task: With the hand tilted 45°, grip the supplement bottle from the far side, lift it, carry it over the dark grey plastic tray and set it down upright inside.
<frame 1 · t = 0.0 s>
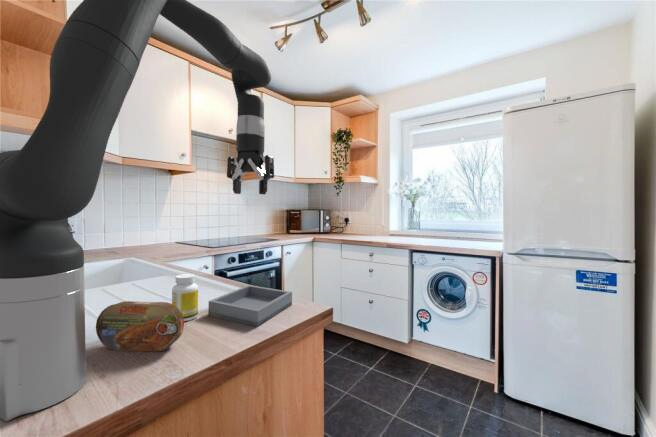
hand: (249, 194, 79), 29 cm above the counter, tool pointing down, fingers open, 8 cm apart
tin: (141, 348, 52), on the counter
tray: (252, 310, 71), on the counter
supplement bottle: (185, 318, 66), on the counter
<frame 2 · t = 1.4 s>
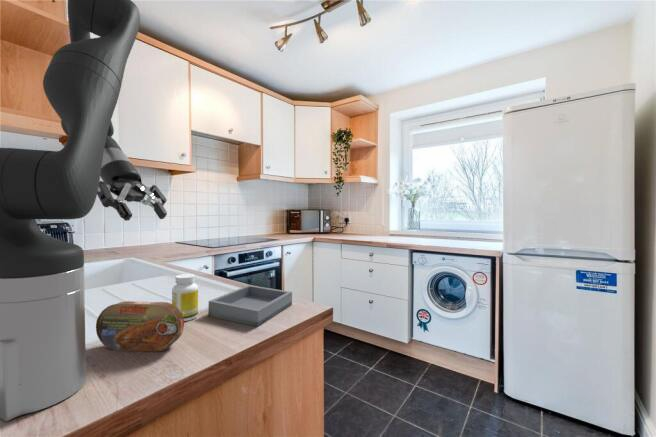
hand: (147, 217, 68), 23 cm above the counter, tool tilted 45°, fingers open, 8 cm apart
nothing on the counter moved.
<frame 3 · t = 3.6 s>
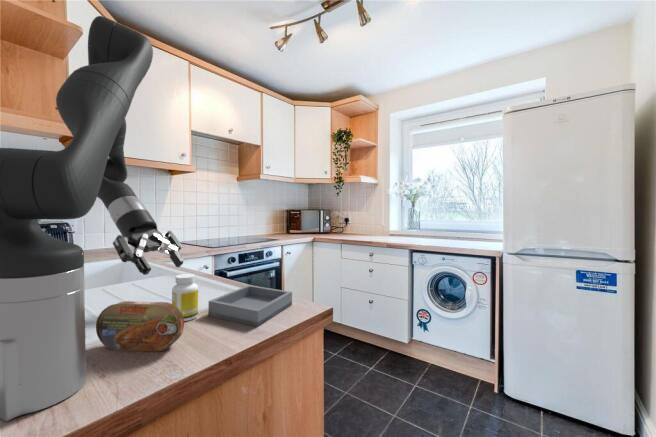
hand: (165, 268, 68), 11 cm above the counter, tool tilted 45°, fingers open, 8 cm apart
nothing on the counter moved.
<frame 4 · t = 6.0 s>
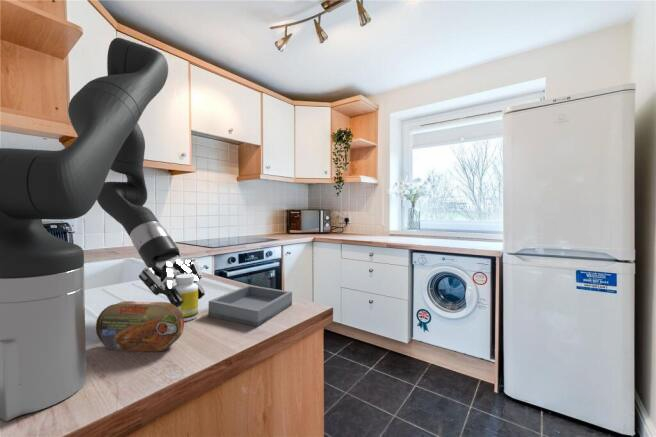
hand: (191, 300, 65), 4 cm above the counter, tool tilted 45°, fingers closed on supplement bottle, 5 cm apart
supplement bottle: (185, 318, 66), on the counter, touching gripper
everything else where it was.
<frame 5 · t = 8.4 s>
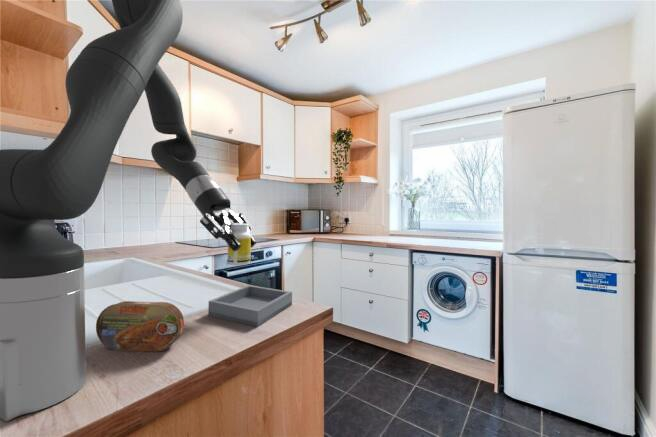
hand: (245, 246, 69), 16 cm above the counter, tool tilted 45°, fingers closed on supplement bottle, 5 cm apart
supplement bottle: (239, 264, 70), point 12 cm above the counter, touching gripper
everything else where it was.
when the fingers open (6 cm above the counter, at t = 10.9 s): supplement bottle drops 1 cm, resting on tray.
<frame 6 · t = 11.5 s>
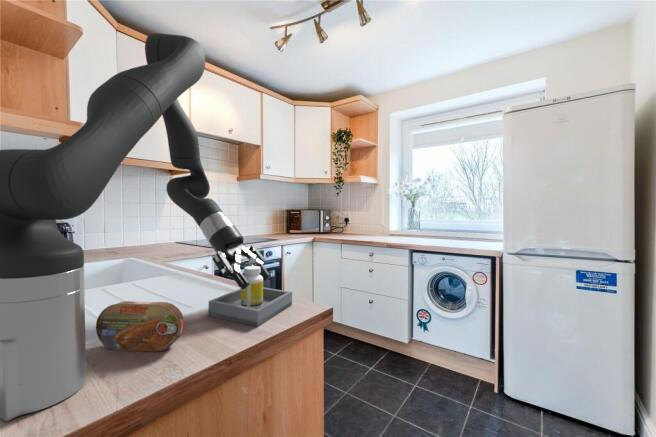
hand: (257, 282, 71), 7 cm above the counter, tool tilted 45°, fingers open, 8 cm apart
supplement bottle: (251, 306, 71), point 1 cm above the counter, touching tray
everything else where it was.
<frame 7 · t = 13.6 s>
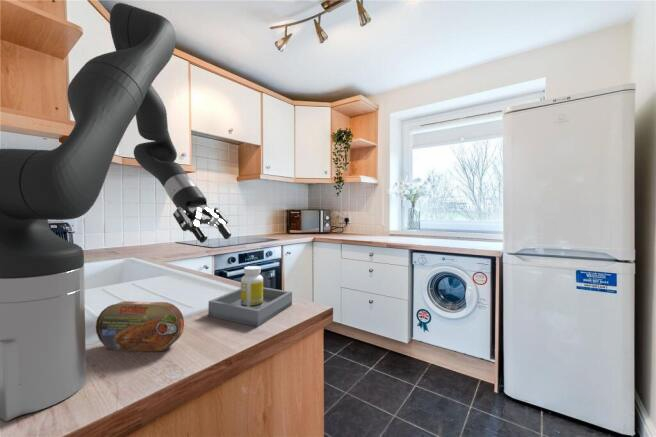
hand: (217, 238, 75), 17 cm above the counter, tool tilted 45°, fingers open, 8 cm apart
nothing on the counter moved.
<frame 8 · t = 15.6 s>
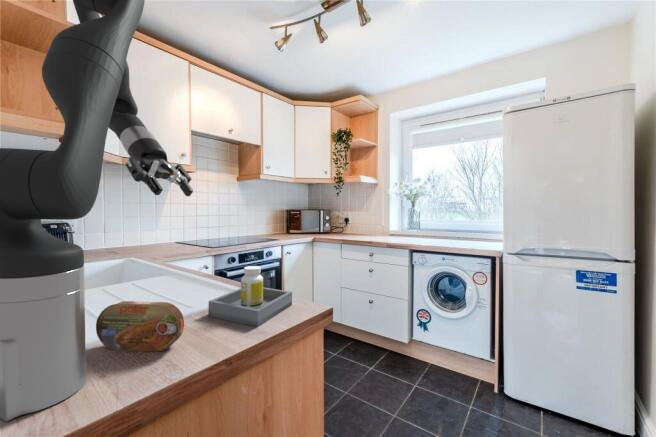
hand: (175, 193, 70), 29 cm above the counter, tool tilted 45°, fingers open, 8 cm apart
nothing on the counter moved.
at the end: supplement bottle inside the target area on the tray (0.2 cm from its centre), point 0.8 cm above the tray's base; supplement bottle tilted 0° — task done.
